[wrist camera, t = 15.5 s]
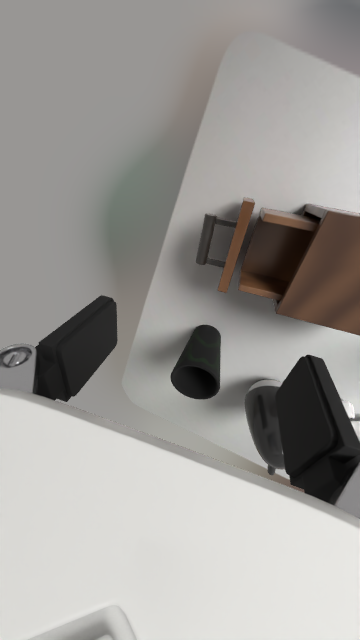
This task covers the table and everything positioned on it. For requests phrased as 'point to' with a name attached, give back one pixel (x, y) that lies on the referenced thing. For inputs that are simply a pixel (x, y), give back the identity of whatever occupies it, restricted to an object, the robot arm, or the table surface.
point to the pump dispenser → (265, 422)
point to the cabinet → (327, 273)
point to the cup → (199, 365)
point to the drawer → (261, 249)
